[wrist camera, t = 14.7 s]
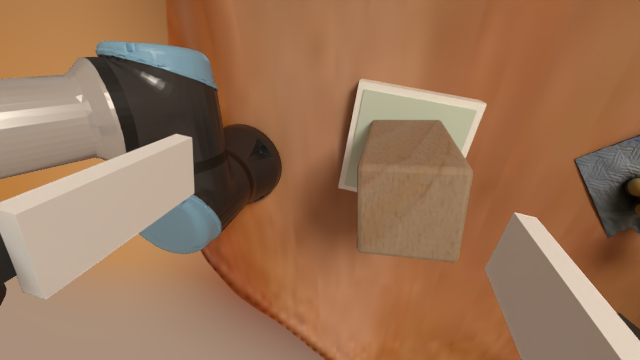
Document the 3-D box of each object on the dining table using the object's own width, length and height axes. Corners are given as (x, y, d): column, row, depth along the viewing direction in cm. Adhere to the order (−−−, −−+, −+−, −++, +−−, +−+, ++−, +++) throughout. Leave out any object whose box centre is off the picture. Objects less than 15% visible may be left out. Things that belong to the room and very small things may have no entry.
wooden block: (370, 179, 49) (356, 254, 31) (371, 119, 45) (356, 165, 27) (434, 182, 46) (458, 265, 29) (441, 119, 43) (475, 169, 25)
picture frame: (341, 179, 54) (337, 188, 51) (361, 78, 47) (359, 80, 43) (440, 202, 52) (444, 214, 48) (480, 100, 44) (487, 104, 40)
